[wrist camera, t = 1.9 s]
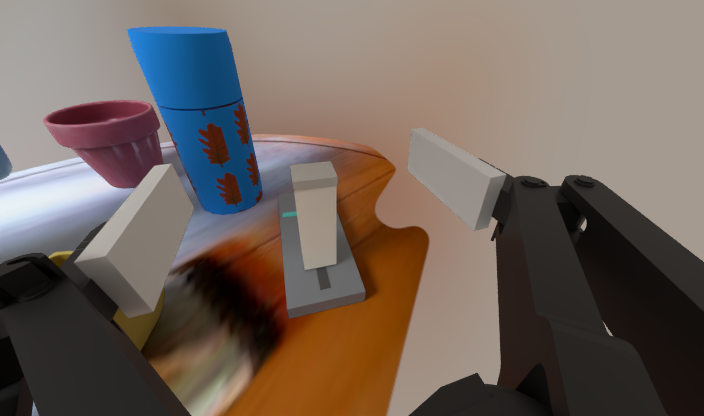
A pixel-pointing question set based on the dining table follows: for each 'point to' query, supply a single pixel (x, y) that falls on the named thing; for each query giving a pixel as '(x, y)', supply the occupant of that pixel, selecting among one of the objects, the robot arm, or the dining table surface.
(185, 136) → the thermos
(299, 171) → the fader tab
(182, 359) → the dining table surface
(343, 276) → the console
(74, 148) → the plant pot
